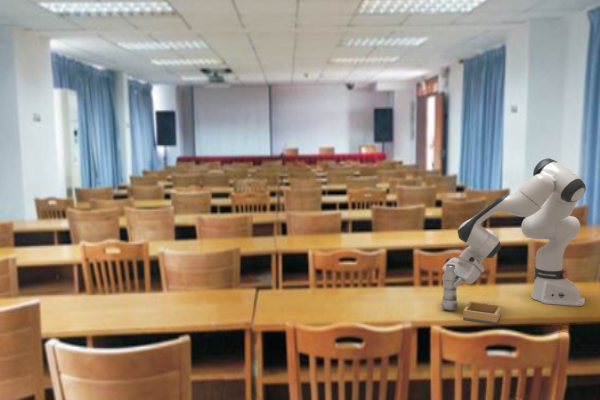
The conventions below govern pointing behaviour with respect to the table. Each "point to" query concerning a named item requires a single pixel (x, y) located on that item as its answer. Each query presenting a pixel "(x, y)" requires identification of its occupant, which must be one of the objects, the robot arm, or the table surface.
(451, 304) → the plastic bottle
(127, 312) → the table surface
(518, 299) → the table surface
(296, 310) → the table surface
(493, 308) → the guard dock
